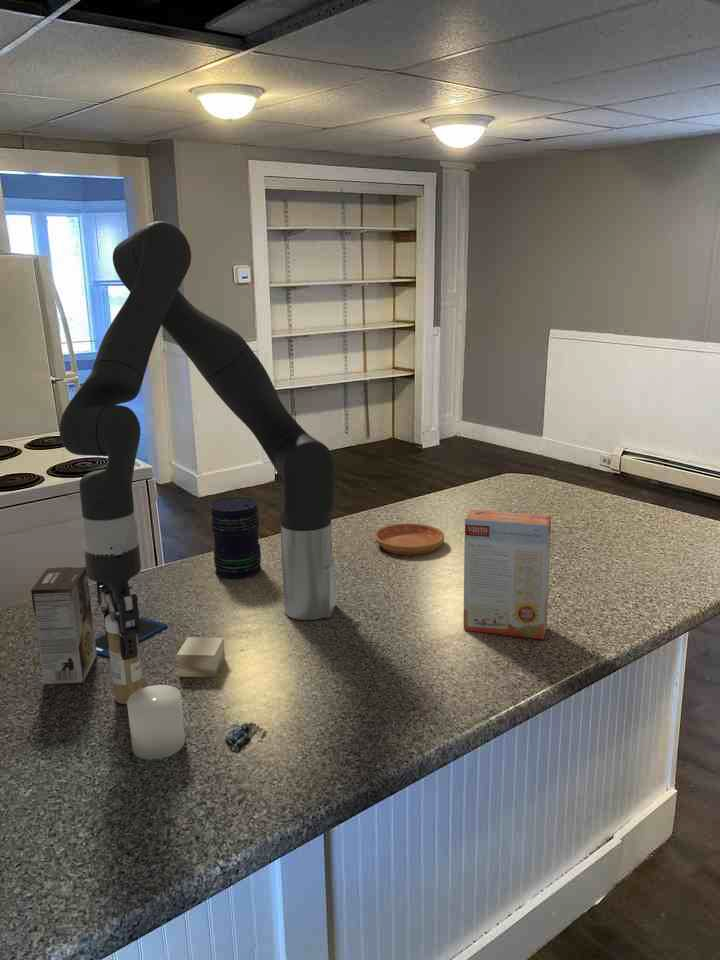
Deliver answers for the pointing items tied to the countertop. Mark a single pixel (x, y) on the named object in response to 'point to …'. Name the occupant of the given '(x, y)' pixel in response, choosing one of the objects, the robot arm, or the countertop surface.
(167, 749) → the cream canister
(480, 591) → the cracker box
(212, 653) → the maple block
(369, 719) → the countertop surface
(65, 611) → the coffee box
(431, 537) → the saucer
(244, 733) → the blueberries
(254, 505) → the storage jar
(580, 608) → the countertop surface
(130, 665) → the sprinkles bottle
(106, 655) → the cell phone
